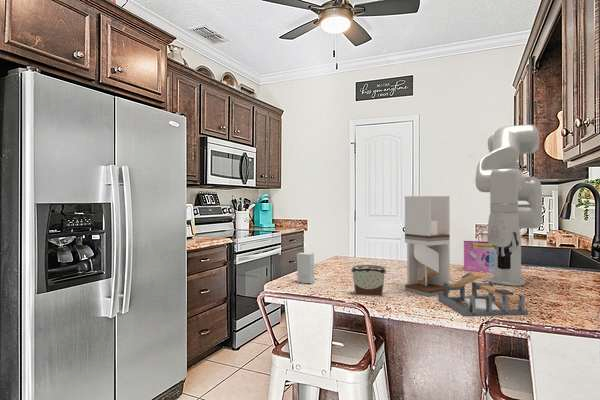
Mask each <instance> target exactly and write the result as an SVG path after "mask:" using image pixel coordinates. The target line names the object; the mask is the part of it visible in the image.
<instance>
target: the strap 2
mask: <svg viewBox="0 0 600 400" xmlns="http://www.w3.org/2000/svg"><path fill="white" fill-rule="evenodd" d="M476 283H477V291H478V290H481V291H485V292H490V293H493V295H496V296H498V297H501V298H502V295H507V296H508V301H518V300H520V297H519V296H518V295H516V294H514V292H513V291H510V290H508V289H504V288H503V289H500V288H497V287H494V286H493V287H492V286H491V285H490V283H488V282H476Z"/></svg>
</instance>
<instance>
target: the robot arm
mask: <svg viewBox="0 0 600 400" xmlns="http://www.w3.org/2000/svg"><path fill="white" fill-rule="evenodd" d="M539 145H540V132H539V129H538V128H537V126H536V125H534V124H521V125H520V124H519V125H507V126H502V127H500V128H498V129H497V130H495V132H494V133H493V135H492V134H491V135H490V136H489V137H488V139H487V147H488V148H487V149H488V152H489V153H487V154H486V155H484V157H482V158H481V159H480V160H479V162H478V163H477V166H476V172H475V179H474V183H475V187H476V189H477V191H479V192H481V193H489V195H490V197H489V198H490V199H489V200H490V201H489V203H490V205H489V208H490V210H489V212H490V213H489V216H488V221H487V222H488V223H487V240H486V242H488V243H489V244H491V245H492V246H493V247H494V270H493V271H492V272H491V274H493V277H490V278H489V282H493V284H497V285H501V286H510V287H511V286H512V287H519V286H525V285H526V280H524V279H522V241H521V229H527V230H528V229H531V230H532V229H533V230H534V229H539V228H540V227H541V226H542V222H543V194H542V193H543V191H542V183H541V181H540V179H539V178H538V177H536V176H525V173H523V171H522V170H520V164H519V162H518V160H519V158H520V155H523V154H524V155H525V154H526V155H527V154H534V153H535V152H537V150H538V148H539ZM519 202H527V203H528V204H525V203H524V204H521V203H520V204H519Z"/></svg>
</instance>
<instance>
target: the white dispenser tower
mask: <svg viewBox="0 0 600 400" xmlns="http://www.w3.org/2000/svg"><path fill="white" fill-rule="evenodd" d="M450 205H451V204H450V196H449V195H442V196H441V195H440V196H437V195H436V196H433V195H432V196H431V195H422V196H421V195H417V196H416V195H413V196H412V195H411V196H408V195H407V196H406V195H405V196H404V243H405V244H407V245H406V247H407V248H406V251H407V252H406V253H407V254H406V255H407V256H406V258H407V261H406V263H407V265H406V267H407V268H406V269H407V270H406V272H407V273H406V275H407V277H406V278H407V279H406V280H407V282H406V284H405V285H404V290H405V291H407V292H411V293H414V294H418V295H420V296H421V295H422V296H426V297H428V298H431V297H435V296H438V293H443V283H447V284H451V283H450V282H451V279H450V278H451V277H450V275H451V273H450V272H451V270H450V269H451V267H450V266H451V265H450V264H451V261H450V260H451V259H450V257H451V256H450V255H451V252H450V251H451V249H450V247H451V246H450V245H451V244H450V243H451V240H450V232H451V231H450V230H451V229H450V228H451V227H450V221H451V220H450V218H451V217H450V210H451V209H450ZM450 293H451V290H448V294H450Z"/></svg>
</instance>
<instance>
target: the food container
mask: <svg viewBox="0 0 600 400" xmlns="http://www.w3.org/2000/svg"><path fill="white" fill-rule="evenodd" d="M350 273H352V276H353V277H352V278H353V285H354V295H355V296H364V297H365V296H366V297H368V296H369V297H383V294H384V293H383V292H384V285H385V284H384V282H385V274H387V271H386V267H384V266H382V265H376V264H375V265H374V264H358V265H357V264H356V265H353V266H352V268H351V271H350Z"/></svg>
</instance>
